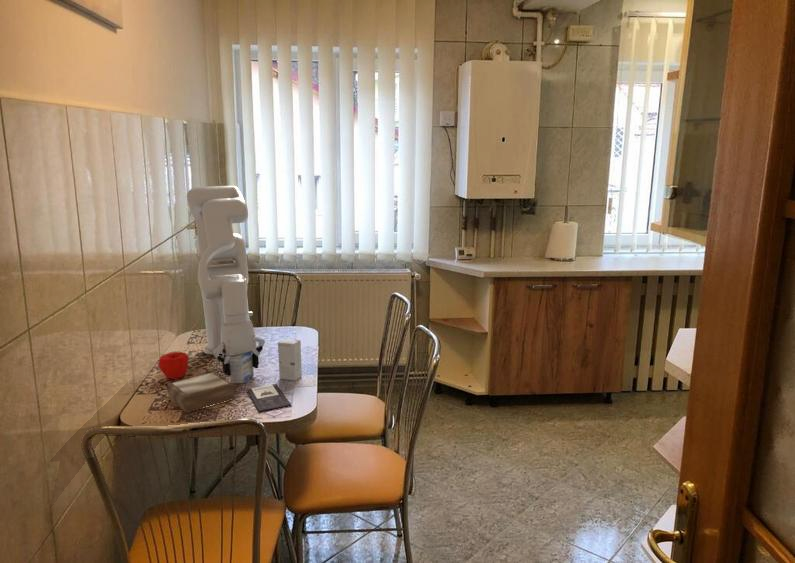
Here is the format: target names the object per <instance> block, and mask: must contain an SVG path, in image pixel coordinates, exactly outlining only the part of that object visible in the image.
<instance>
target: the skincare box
mask: <svg viewBox="0 0 795 563" xmlns="http://www.w3.org/2000/svg"><path fill="white" fill-rule="evenodd" d="M301 342H302V341H301V339H292V338H283V339H281V340H280V341H278V342H277V350H278V352H277V353H278V354H277V356H278V372H279V373H278V374H279V376H278V377H279V379H281V380H287V381H288V380H289V381H297V380H298V379H301V377H302V376H303V374H302V370H303V369H302V346H301V345H302V343H301Z"/></svg>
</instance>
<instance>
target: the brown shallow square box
mask: <svg viewBox="0 0 795 563" xmlns="http://www.w3.org/2000/svg"><path fill="white" fill-rule="evenodd" d="M234 388H235V387H234V383H231V382H230V380H228V379H226V378H224V377H223V376H220V375H219V374H217V373H216V372H214V371H213V372H212V371H211V372H209V373H208V372H207V373H204V374H201V375H198V376H193V377H190V378H185V379H182V380H178V381H173V382H169V383H167V391H168V399H169V401H171V402H172V403H174V405H176V406H177V407H178V408H179V409H181V410H182V409H183V410H184V411H183V410H182V411H183V412H185V413H186V412H187V413H186V414H189V413H188V412H190V413H192V412H191V411H194V410H197V409H200V408H203V407H206V406H210V405H213V404H217V403H221V402H224V401H227V400H230V399H234V398H235V389H234ZM234 400H235V399H234ZM224 403H225V402H224ZM221 404H222V403H221ZM217 405H218V404H217ZM197 411H198V410H197ZM194 412H195V411H194Z"/></svg>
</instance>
